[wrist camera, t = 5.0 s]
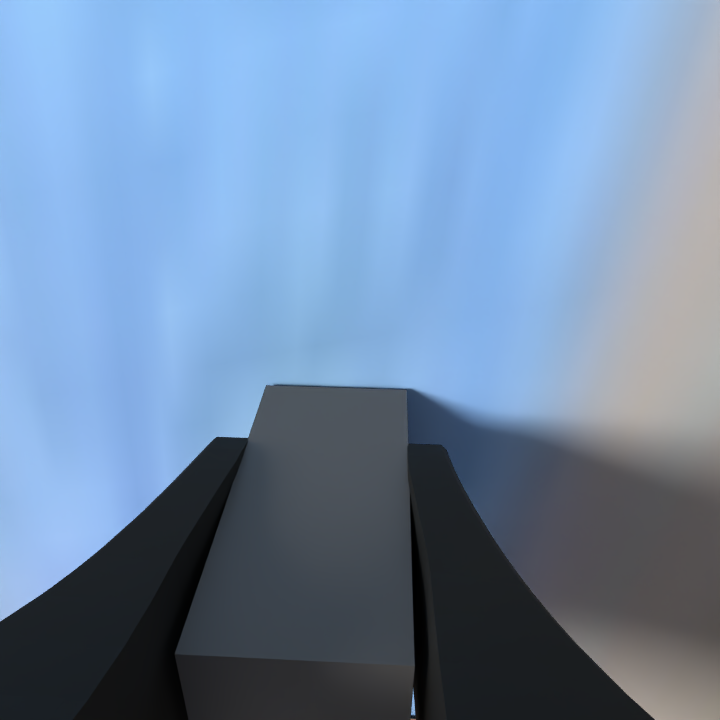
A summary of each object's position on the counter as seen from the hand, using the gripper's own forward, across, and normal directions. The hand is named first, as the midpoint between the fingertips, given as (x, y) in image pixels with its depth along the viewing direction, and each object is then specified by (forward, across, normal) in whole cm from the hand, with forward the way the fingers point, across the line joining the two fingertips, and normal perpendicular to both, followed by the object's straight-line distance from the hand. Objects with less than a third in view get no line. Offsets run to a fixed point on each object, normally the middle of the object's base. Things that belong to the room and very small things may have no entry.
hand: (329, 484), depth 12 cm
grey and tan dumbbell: (+2, 0, +7) cm, 7 cm away
